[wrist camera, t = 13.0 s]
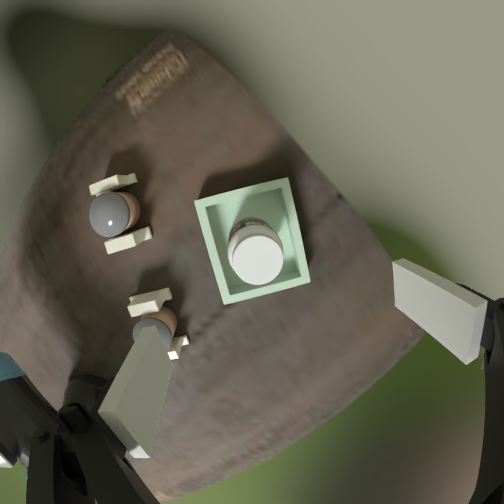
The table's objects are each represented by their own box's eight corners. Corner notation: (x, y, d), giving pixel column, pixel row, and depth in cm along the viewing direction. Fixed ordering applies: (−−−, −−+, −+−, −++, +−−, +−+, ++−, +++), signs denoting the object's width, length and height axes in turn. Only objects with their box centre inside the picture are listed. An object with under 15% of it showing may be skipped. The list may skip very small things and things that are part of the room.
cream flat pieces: (152, 348, 39) (145, 363, 35) (96, 187, 33) (82, 188, 29) (189, 341, 39) (185, 357, 35) (135, 173, 33) (123, 171, 29)
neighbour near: (112, 235, 34) (96, 242, 30) (101, 198, 33) (84, 200, 28) (145, 224, 34) (133, 230, 30) (135, 185, 33) (120, 186, 28)
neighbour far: (150, 339, 38) (142, 357, 33) (137, 308, 37) (126, 323, 32) (183, 332, 38) (177, 351, 33) (170, 300, 37) (162, 316, 32)
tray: (224, 295, 37) (224, 304, 34) (197, 199, 34) (194, 201, 31) (304, 274, 37) (310, 282, 34) (283, 178, 34) (287, 177, 31)
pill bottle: (228, 216, 34) (227, 227, 25) (274, 217, 35) (291, 229, 25) (227, 261, 36) (226, 289, 26) (272, 262, 36) (287, 289, 26)
